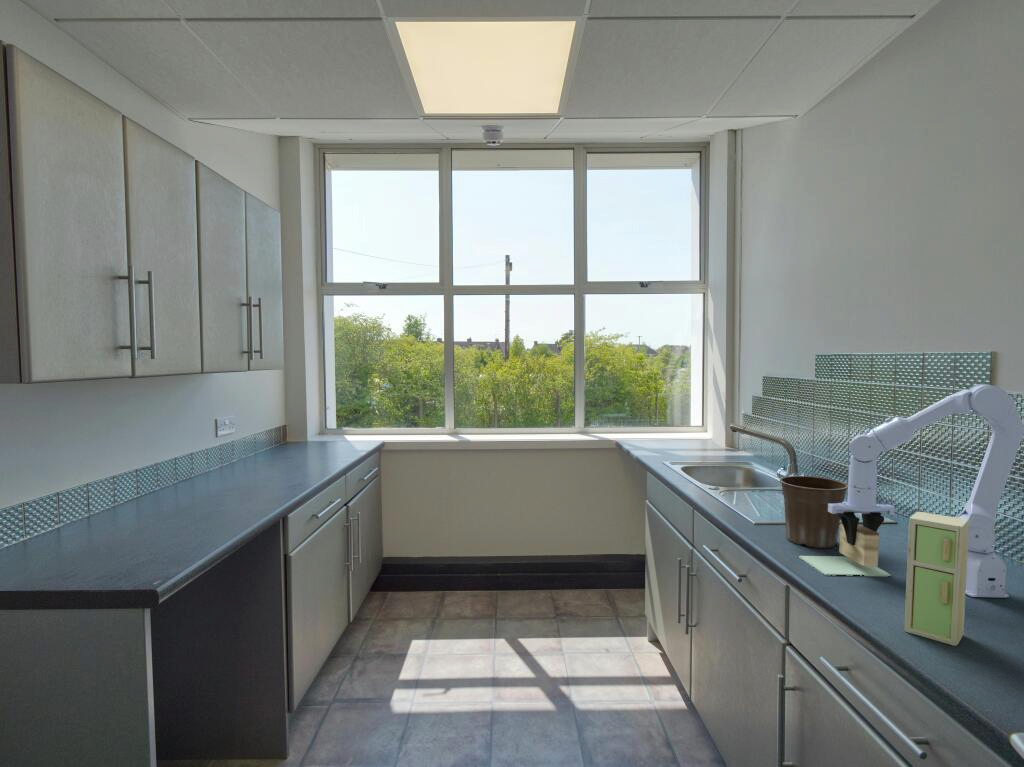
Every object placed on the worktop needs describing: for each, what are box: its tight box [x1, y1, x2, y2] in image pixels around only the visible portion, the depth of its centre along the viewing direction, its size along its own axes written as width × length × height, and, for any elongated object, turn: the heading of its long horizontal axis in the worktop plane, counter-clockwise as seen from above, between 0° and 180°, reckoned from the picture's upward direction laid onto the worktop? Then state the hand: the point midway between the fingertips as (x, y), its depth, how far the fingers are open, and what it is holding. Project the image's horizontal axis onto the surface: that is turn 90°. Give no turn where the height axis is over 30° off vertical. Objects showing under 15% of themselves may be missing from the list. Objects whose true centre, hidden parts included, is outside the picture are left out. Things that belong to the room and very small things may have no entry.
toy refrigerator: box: [904, 511, 969, 647], centre depth 107 cm, size 8×7×21 cm
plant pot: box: [779, 475, 848, 549], centre depth 160 cm, size 16×16×16 cm
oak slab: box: [838, 521, 880, 567], centre depth 141 cm, size 10×3×8 cm, turn 1°
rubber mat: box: [798, 555, 892, 577], centre depth 142 cm, size 12×15×1 cm
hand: (859, 543), depth 141 cm, fingers closed on oak slab, 3 cm apart
